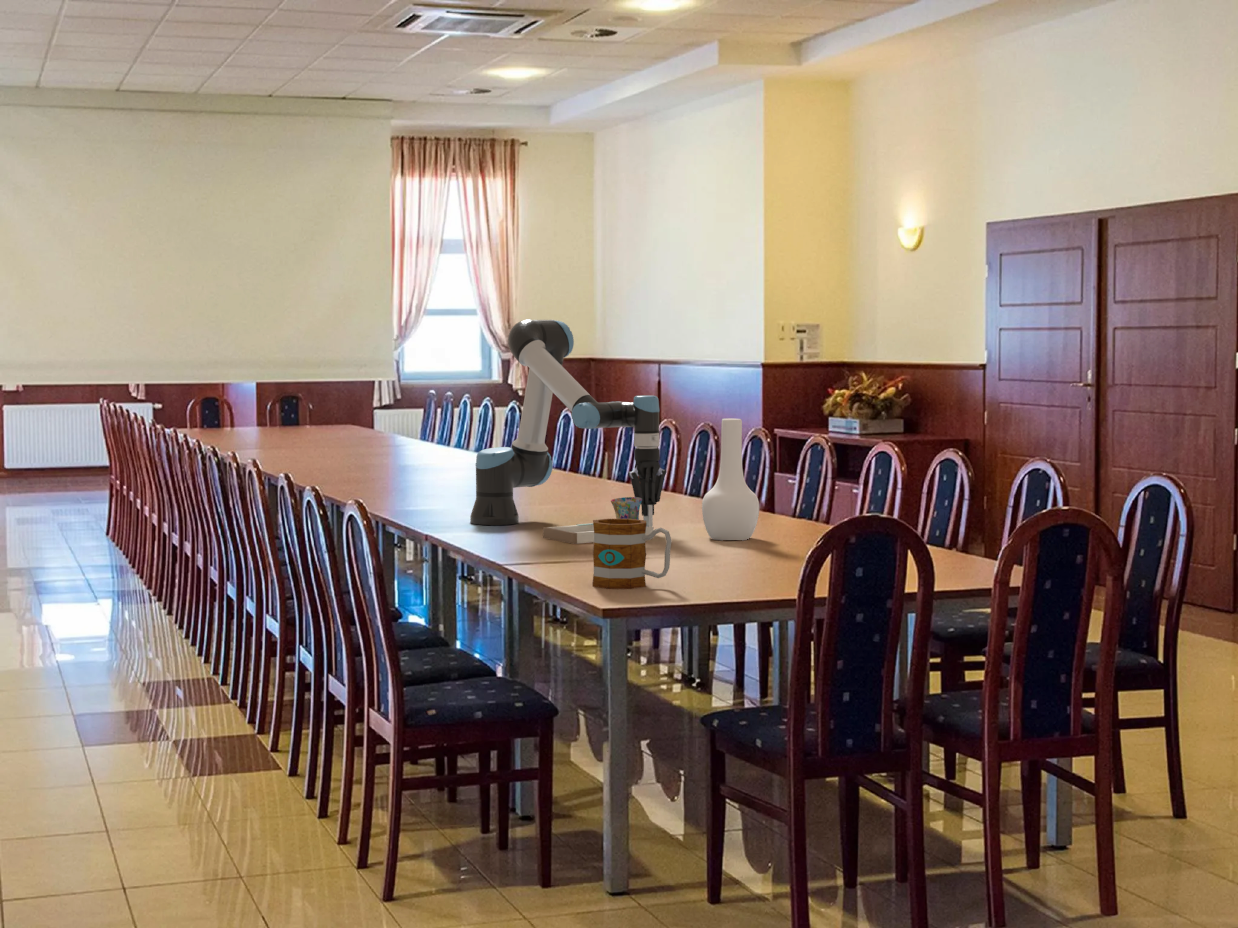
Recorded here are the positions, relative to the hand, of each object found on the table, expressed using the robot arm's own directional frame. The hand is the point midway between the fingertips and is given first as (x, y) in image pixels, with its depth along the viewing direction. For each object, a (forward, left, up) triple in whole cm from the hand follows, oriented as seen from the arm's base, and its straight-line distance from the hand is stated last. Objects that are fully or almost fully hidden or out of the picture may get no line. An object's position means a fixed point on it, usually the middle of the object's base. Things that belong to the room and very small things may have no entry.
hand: (648, 526), depth 475 cm
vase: (+22, +14, -2) cm, 26 cm away
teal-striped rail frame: (0, -17, -2) cm, 17 cm away
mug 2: (+79, -63, -3) cm, 101 cm away
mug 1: (0, -7, -2) cm, 7 cm away
